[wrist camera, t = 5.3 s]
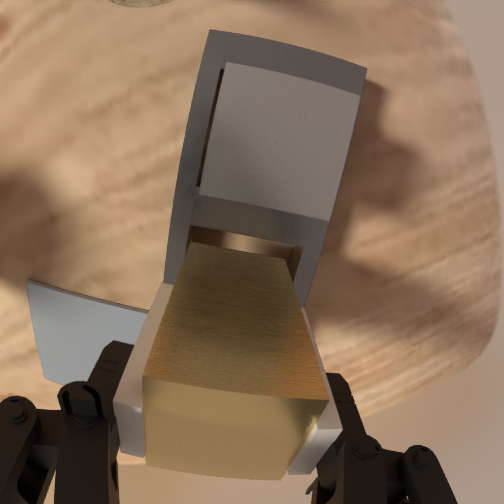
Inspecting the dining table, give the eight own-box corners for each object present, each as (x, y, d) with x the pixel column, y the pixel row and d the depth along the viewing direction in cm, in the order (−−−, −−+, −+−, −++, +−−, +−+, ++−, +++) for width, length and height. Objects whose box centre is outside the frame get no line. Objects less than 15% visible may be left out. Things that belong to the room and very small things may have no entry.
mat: (28, 279, 19) (26, 281, 19) (151, 311, 20) (149, 314, 20) (46, 375, 23) (44, 378, 22) (148, 406, 24) (147, 409, 23)
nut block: (190, 241, 15) (142, 375, 7) (284, 259, 16) (329, 400, 7) (180, 320, 17) (145, 465, 8) (263, 334, 17) (280, 480, 9)
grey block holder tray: (213, 40, 14) (209, 29, 12) (354, 74, 15) (367, 68, 13) (159, 401, 23) (155, 419, 22) (254, 417, 24) (255, 435, 22)
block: (233, 89, 16) (226, 61, 9) (316, 108, 16) (360, 95, 9) (216, 170, 17) (198, 194, 11) (297, 187, 18) (329, 220, 11)
